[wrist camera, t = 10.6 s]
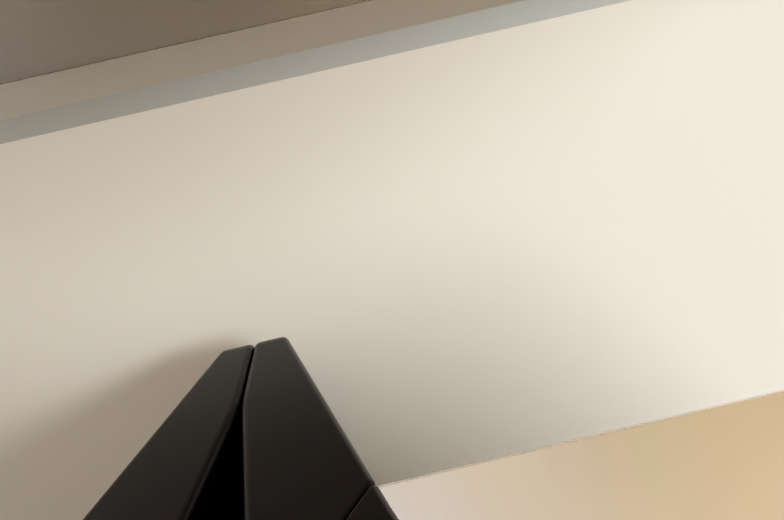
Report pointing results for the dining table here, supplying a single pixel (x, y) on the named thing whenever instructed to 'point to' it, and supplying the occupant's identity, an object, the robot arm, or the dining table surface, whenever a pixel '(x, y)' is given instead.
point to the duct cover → (410, 247)
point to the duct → (256, 58)
